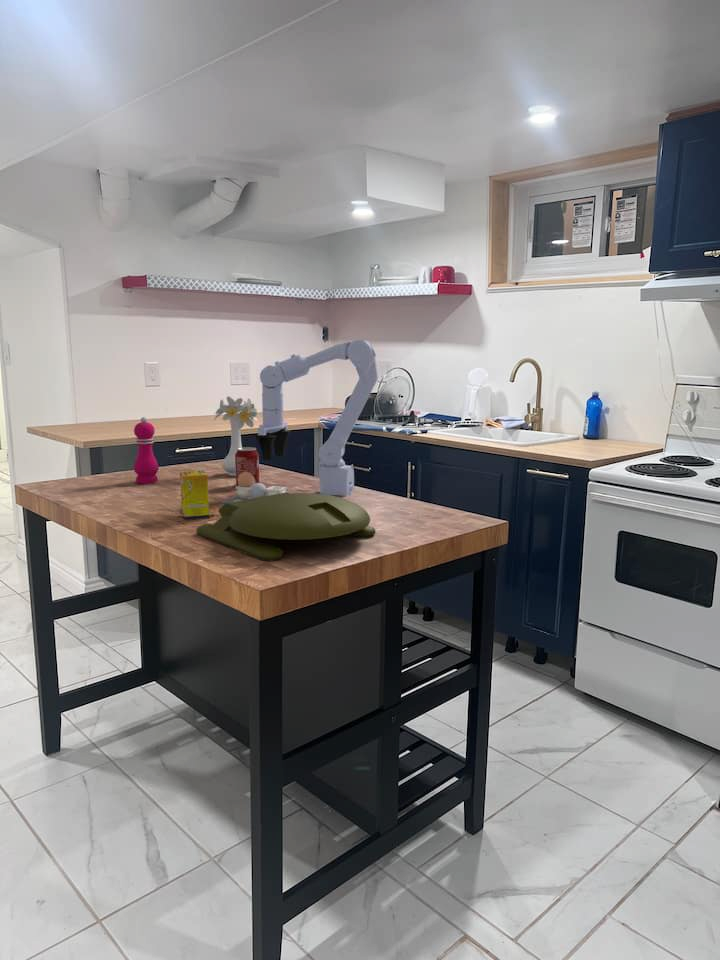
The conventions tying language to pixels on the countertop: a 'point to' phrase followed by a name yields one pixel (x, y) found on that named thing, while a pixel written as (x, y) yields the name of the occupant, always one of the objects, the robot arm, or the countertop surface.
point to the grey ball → (258, 490)
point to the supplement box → (194, 494)
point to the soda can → (247, 463)
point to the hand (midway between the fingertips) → (273, 458)
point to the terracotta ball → (245, 479)
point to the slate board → (234, 499)
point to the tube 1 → (243, 492)
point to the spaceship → (286, 521)
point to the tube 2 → (275, 490)
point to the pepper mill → (145, 453)
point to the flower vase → (236, 426)
